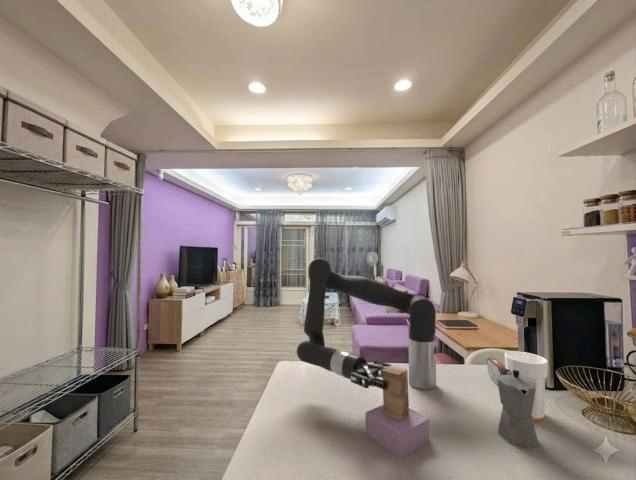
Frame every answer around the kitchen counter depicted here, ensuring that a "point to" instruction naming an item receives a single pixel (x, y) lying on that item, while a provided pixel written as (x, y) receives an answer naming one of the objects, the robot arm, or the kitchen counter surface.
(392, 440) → the base block
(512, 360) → the cup
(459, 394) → the kitchen counter surface
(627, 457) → the kitchen counter surface
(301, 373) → the kitchen counter surface
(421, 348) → the robot arm
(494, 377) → the tin
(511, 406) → the coffeepot
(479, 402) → the kitchen counter surface
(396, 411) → the walnut block
